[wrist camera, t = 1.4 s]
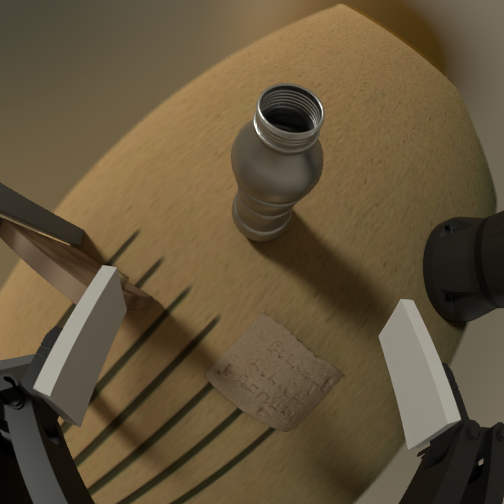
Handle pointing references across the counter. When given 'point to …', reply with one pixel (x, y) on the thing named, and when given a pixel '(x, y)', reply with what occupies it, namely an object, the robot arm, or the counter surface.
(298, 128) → the silver metal bottle
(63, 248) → the door
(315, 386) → the clay tablet
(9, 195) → the door frame
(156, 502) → the counter surface
